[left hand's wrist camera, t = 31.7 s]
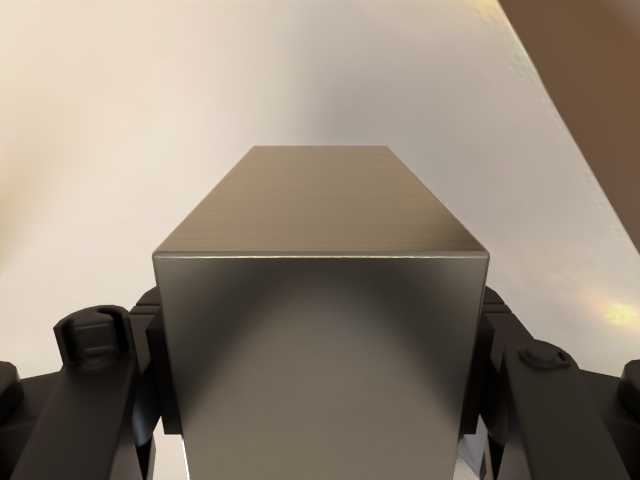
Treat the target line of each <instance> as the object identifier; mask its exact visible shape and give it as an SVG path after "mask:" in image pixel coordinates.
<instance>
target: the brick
mask: <svg viewBox="0 0 640 480" xmlns="http://www.w3.org/2000/svg"><path fill="white" fill-rule="evenodd" d="M152 260H153V267H154V273H155V279H156V285H157V291H158V297H159V303H160V309H161V315H162V321H163V327H164V333H165V339H166V345H167V351H168V357H169V363H170V369H171V375H172V381H173V387H174V393H175V399H176V406H177V412H178V418H179V424H180V430H181V436H182V442H183V448H184V454H185V460H186V466H187V472H188V478H189V480H453V475H454V469H455V463H456V457H457V451H458V445H459V439H460V433H461V427H462V421H463V415H464V409H465V403H466V397H467V391H468V385H469V379H470V373H471V368H472V362H473V356H474V350H475V344H476V338H477V332H478V326H479V320H480V314H481V308H482V302H483V296H484V290H485V284H486V278H487V272H488V266H489V260H490V254H489V252H488V251H487V250H486V249H485V248H484V247H483V246H482V245H481V244H480V243H479V241H478V240H477V239H476V238H475V237H474V236H473V235H472V234H471V233H470V232H469V231H468V230H467V229H466V228H465V227H464V226H463V225H462V224H461V223H460V222H459V221H458V220H457V219H456V218H455V217H454V215H453V214H452V213H451V212H450V211H449V210H448V209H447V208H446V207H445V206H444V205H443V204H442V203H441V202H440V201H439V200H438V199H437V198H436V197H435V196H434V195H433V194H432V193H431V192H430V191H429V189H428V188H427V187H426V186H425V185H424V184H423V183H422V182H421V181H420V180H419V179H418V178H417V177H416V176H415V175H414V174H413V173H412V172H411V171H410V170H409V169H408V168H407V167H406V166H405V165H404V163H403V162H402V161H401V160H400V159H399V158H398V157H397V156H396V155H395V154H394V153H393V152H392V151H391V150H390V149H389V148H388V147H387V146H253V147H252V148H251V150H250V151H249V152H248V153H247V154H246V155H245V156H244V157H243V158H242V159H241V160H240V161H239V162H238V163H237V164H236V165H235V166H234V167H233V168H232V170H231V171H230V172H229V173H228V174H227V175H226V176H225V177H224V178H223V179H222V180H221V181H220V182H219V183H218V184H217V185H216V186H215V187H214V189H213V190H212V191H211V192H210V193H209V194H208V195H207V196H206V197H205V198H204V199H203V200H202V201H201V202H200V203H199V204H198V205H197V206H196V208H195V209H194V210H193V211H192V212H191V213H190V214H189V215H188V216H187V217H186V218H185V219H184V220H183V221H182V222H181V223H180V224H179V225H178V227H177V228H176V229H175V230H174V231H173V232H172V233H171V234H170V235H169V236H168V237H167V238H166V239H165V240H164V241H163V242H162V243H161V244H160V246H159V247H158V248H157V249H156V250H155V251H154V252H153V254H152Z"/></svg>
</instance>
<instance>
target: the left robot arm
mask: <svg viewBox="0 0 640 480" xmlns="http://www.w3.org/2000/svg"><path fill="white" fill-rule="evenodd" d="M53 330H54V333H55V337H56V340H57V344H58V347H59V351H60V354H61V358H62V361H63V366H62V368H61V370H60V371H58V372H54V373H50V374H45V375H40V376H35V377H30V378H25V379H20V377H19V374H18V372H17V369H16V367H15V366H14V365H13V364H11V363H10V362H3V361H0V480H153V471H154V462H155V453H156V447H155V441H154V436H153V431H154V429H155V427H156V425H157V423H158V421H159V419H160V416H161V418H162V423H163V428H164V434H181V430H180V424H179V418H178V412H177V406H176V399H175V393H174V387H173V381H172V375H171V369H170V363H169V357H168V351H167V345H166V339H165V333H164V327H163V321H162V315H161V309H160V303H159V297H158V291H157V286H156V287H154V288H152V289H151V290H149V291H147V292H146V293H144V295H143V296H142V297H141V298H140V300H139V301H138V302H137V303H136V306H134V307H133V308H132V309H131V311H130V312H129V311H127V310H126V309H125V308H123V307H120V306H116V305H99V306H94V307H89V308H85V309H82V310H79V311H77V312H74V313H71V314H70V315H68V316H66V317H65V318H63V319H61V320H60V321H59V322H58V323H57V324H56V325H55V326H54V327H53ZM457 452H458V453H459V455H460V456H461V457H462V458H463V460H464V461H465V462H466V463H467V464H468V466H469V467H470V468H471V469H472V471H473V472H474V473H475V474H476V475H477V477H478V478H479V479H480V480H640V359H639V360H631V361H630V362H629V363H627V364H626V365H625V367H624V370H623V373H622V376H621V378H620V377H615V376H609V375H604V374H599V373H594V372H589V371H585V370H581V369H579V367H578V365H577V363H576V362H575V361H574V359H573V358H572V357H571V355H569V354H568V353H566V352H565V351H564V350H562V349H561V348H559V347H557V346H555V345H552V344H550V343H548V342H544V341H540V340H536V339H534V338H533V337H532V336H531V334H530V333H529V332H528V331H527V329H526V328H525V327H524V326H523V325H522V323H521V322H520V321H519V320H518V318H517V317H516V316H515V315H514V314H512V311H511V310H510V309H509V307H508V306H507V305H505V302H504V301H503V300H502V299H501V297H500V296H499V295H498V294H497V293H496V292H495V291H494V290H492V289H490V288H489V287H487V286H485V290H484V296H483V302H482V308H481V314H480V320H479V326H478V332H477V338H476V344H475V350H474V356H473V362H472V368H471V373H470V379H469V385H468V391H467V397H466V403H465V409H464V415H463V421H462V427H461V433H460V439H459V445H458V451H457Z"/></svg>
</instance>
